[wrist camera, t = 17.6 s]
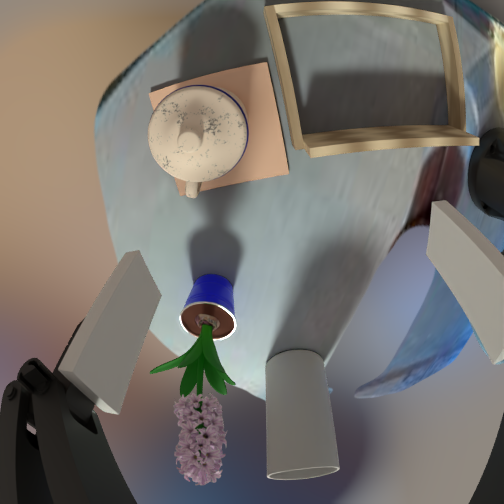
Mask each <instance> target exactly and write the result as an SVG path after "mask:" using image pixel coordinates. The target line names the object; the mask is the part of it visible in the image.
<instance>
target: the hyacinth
mask: <svg viewBox="0 0 504 504" xmlns="http://www.w3.org/2000/svg"><path fill="white" fill-rule="evenodd" d="M180 322H181V325H182V326H183V328H184V329H185V330H186V331H187V332H188V333H190V334H191V335H193V336H195V337H197V338H198V339H197V341H196V342H195V343H194V345H193V346H192V347H191V348H190V349H189V350H188V351H187V352H186V353H185V354H183V355H182V356H180V357H178V358H176V359H174V360H172V361H169V362H167V363H164V364H162V365H160V366H158V367H156V368H155V369H153V370H152V371H150V374H153V373H157V372H161V371H165V370H169V369H172V368H174V367H177V366H178V368H182V367H186V366H187V368H186V371H185V373H184V376H183V378H182V381H181V385H180V395H181V397H182V399H179V402H180V403H176V401H175V404H176V405H175V404H174V408H176V409H175V410H174V414H175V413H176V412H177V417H178V419H179V421H178V425H180V426H181V427H182V430H181V433H180V435H179V440H180V441H179V443H178V445H176V450H177V452H175V456H179V457H177V459H176V464H177V460H179V461H180V460H181V461H180V464H181V465H182V466H181V469H180V468H178V467H177V469H178V470H181V471H179V472H180V473H181V474H185V475H184V478H185V479H186V480H188V481H190V480H189V479H188V476H189V477H192V480H193V481H194V482H198V484H196V485H199V484H200V483H201V485H205V484H206V483H208V482H210V480H211V479H212V482H216V478H220V477H221V475H220V474H221V472H222V470H221V471H220V472H219V468H220V466H222V464H221V463H220V462H222V461H221V459H220V458H223V457H224V456H225V455H226V454H222V451H221V452H220V450H221V449H222V447H221V446H222V443H224V444H225V445H226V444H227V442H226V440H225V436H226V435H225V434H226V433H227V432H226V433H225V434H224V431H223V429H224V425H223V418H222V411H223V410H221V409H222V406H221V405H220V404H219V403H218V401H217V402H216V400H217V398H216V397H214V398H213V394H210V393H209V394H210V395H211V397H210V398H208V397H206V396H205V399H206V400H205V399H204V398H202V388H203V387H202V386H203V373H204V371H205V374H206V377H207V380H208V382H209V383H210V385H211V386H212V387H213V388H214V389H215V390H216V391H217V392H219V393H220V394H223V395H226V394H227V389H226V385H225V382H224V380H225V381H226V382H227V383H229V384H231V385H235V382H233V381H232V380H231V379H230V378H229V377H228V375H227V374H226V373H225V370H224V368H223V367H222V365H221V363H220V360H219V357H218V354H217V351H216V347H215V345H214V342H213V340H220V339H224V338H226V337H228V336H230V335H231V334H232V333H233V332H234V330H235V328H236V319H235V312H234V299H233V288H232V285H231V283H230V282H229V281H228V280H227V279H226V278H224V277H222V276H220V275H216V274H207V275H203V276H201V277H199V278H198V279H197V280H196V282H195V283H194V286H193V288H192V290H191V292H190V295H189V297H188V299H187V301H186V304H185V306H184V308H183V310H182V311H181V313H180ZM196 383H197V397H196V395H195V394H194V393H192V396H189V395H188V394H189V393H190V392H191V391H192V390H193V388H194V386H195V385H196ZM187 395H188V396H187ZM186 396H187V397H188V398H189V399H190V400H191V401H190V402H186V400H187V398H185V399H184V397H186ZM202 401H203V403H202ZM192 403H193V404H192ZM217 404H219V405H217ZM213 409H214V410H213ZM180 410H181V411H180ZM219 410H220V411H219ZM178 412H179V413H180V414H181V415H180V417H179V416H178ZM183 414H184V415H183ZM182 415H183V416H182ZM186 423H187V425H186ZM195 427H196V428H195ZM205 429H206V430H205ZM219 434H220V435H221V434H222V436H220V435H219ZM223 434H224V435H223ZM195 438H196V439H195ZM196 442H197V443H196ZM179 445H180V446H182V447H181V448H178V446H179ZM226 446H227V445H226ZM211 447H212V448H211ZM207 449H208V450H207ZM218 449H219V450H218ZM212 450H214V451H212ZM221 454H222V455H221ZM185 460H186V461H185ZM218 463H220V464H218ZM189 465H190V466H189ZM214 467H215V468H214ZM216 469H217V471H215V470H216ZM184 470H185V471H184ZM206 474H208V475H207V477H206Z"/></svg>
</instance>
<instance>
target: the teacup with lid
mask: <svg viewBox="0 0 504 504" xmlns="http://www.w3.org/2000/svg"><path fill="white" fill-rule="evenodd" d="M248 137H249V129H248V115H247V111H246V108H245V106H244V104H243V103H242V101H241V100H240V99H239V98H238V97H237V96H236V95H235V94H234V93H232V92H231V91H229V90H227V89H224V88H221V87H214V86H208V85H190V86H185V87H182V88H179V89H177V90H175V91H173V92H171V93H170V94H169V95H167V96H166V97H165V98H164V99H163V100H162V101H161V102H160V103H159V104H158V105H157V107H156V108H155V110H154V112H153V114H152V116H151V119H150V122H149V127H148V142H149V147H150V150H151V152H152V155H153V157H154V158H155V160H156V161H157V163H158V164H159V165H160V166H161V167H162V168H163V169H164V170H165V171H166V172H167V173H169V174H170V175H172V176H174V177H176V178H178V179H181V180H184V181H186V185H185V193H186V196H187V197H190V198H196V197H197V196H198V194H199V192H200V189H201V185H202V182H205V181H210V180H214V179H217V178H219V177H221V176H223V175H225V174H227V173H228V172H229V171H231V170H232V169H233V168H234V167H235V166H236V165H237V164H238V162H239V161H240V160H241V158H242V156H243V154H244V153H245V150H246V147H247V144H248Z"/></svg>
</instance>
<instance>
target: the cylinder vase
mask: <svg viewBox="0 0 504 504" xmlns="http://www.w3.org/2000/svg"><path fill="white" fill-rule="evenodd" d="M265 374H266V421H267V422H266V424H267V477H268V478H271V479H278V480H294V479H306V478H313V477H318V476H322V475H327V474H330V473H333V472H336V471H337V470H339V469H340V468H339V460H338V452H337V444H336V437H335V430H334V423H333V416H332V410H331V403H330V398H329V391H328V385H327V379H326V373H325V367H324V362H323V359H322V358H321V356H320V355H318V354H317V353H315V352H312V351H309V350H289V351H285V352H282V353H279V354H277V355H275V356H274V357H272V358H271V359H270V360H269V361H268V363H267V364H266V368H265Z"/></svg>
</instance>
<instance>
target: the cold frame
mask: <svg viewBox="0 0 504 504" xmlns="http://www.w3.org/2000/svg"><path fill="white" fill-rule="evenodd" d="M263 13H264V17H265V21H266V25H267V29H268V33H269V37H270V41H271V45H272V49H273V53H274V58H275V62H276V66H277V71H278V75H279V80H280V85H281V89H282V94H283V99H284V104H285V109H286V114H287V119H288V125H289V130H290V136H291V141H292V145H293V147H294V148H295V150H299V149H305V150H306V152H307V153H308V155H309V156H310V157H311V158H314V157H321V156H328V155H336V154H344V153H352V152H362V151H372V150H382V149H395V148H409V147H428V146H479V138H478V137H476V136H474V135H472V134H469V133H467V132H466V111H465V93H464V82H463V72H462V65H461V58H460V51H459V45H458V40H457V35H456V30H455V26H454V21H453V17H450V16H446V15H442V14H438V13H434V12H429V11H425V10H419V9H414V8H408V7H402V6H395V5H387V4H377V3H365V2H339V1H327V2H302V3H289V4H279V5H271V6H264V12H263ZM334 14H345V15H372V16H384V17H394V18H402V19H409V20H416V21H422V22H427V23H432V24H436V26H437V30H438V35H439V40H440V46H441V51H442V57H443V64H444V72H445V80H446V90H447V104H448V125H405V126H383V127H368V128H356V129H345V130H336V131H327V132H319V133H312V134H304V135H302V132H301V126H300V120H299V115H298V109H297V104H296V99H295V94H294V89H293V84H292V79H291V74H290V69H289V65H288V60H287V56H286V51H285V47H284V43H283V39H282V35H281V31H280V27H279V23H278V19H277V18H285V17H295V16H308V15H334Z"/></svg>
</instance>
